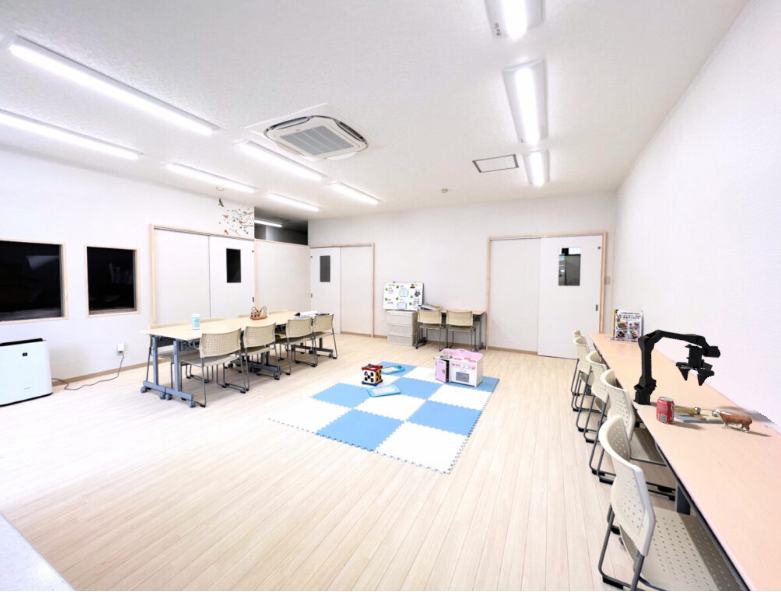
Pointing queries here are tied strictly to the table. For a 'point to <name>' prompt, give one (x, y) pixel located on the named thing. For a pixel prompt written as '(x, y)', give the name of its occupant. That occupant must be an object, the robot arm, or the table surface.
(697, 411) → the latch bar
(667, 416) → the soda can
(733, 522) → the table surface
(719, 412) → the bull figurine
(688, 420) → the door mockup
